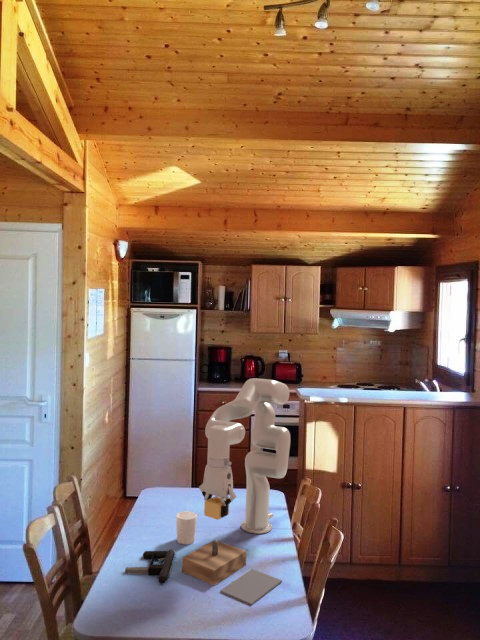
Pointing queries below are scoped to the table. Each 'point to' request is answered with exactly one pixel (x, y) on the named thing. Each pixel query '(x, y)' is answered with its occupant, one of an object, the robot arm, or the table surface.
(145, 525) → the table surface
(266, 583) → the mat
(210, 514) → the collar
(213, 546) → the stand
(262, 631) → the table surface
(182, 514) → the white cup
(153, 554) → the door handle
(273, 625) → the table surface
